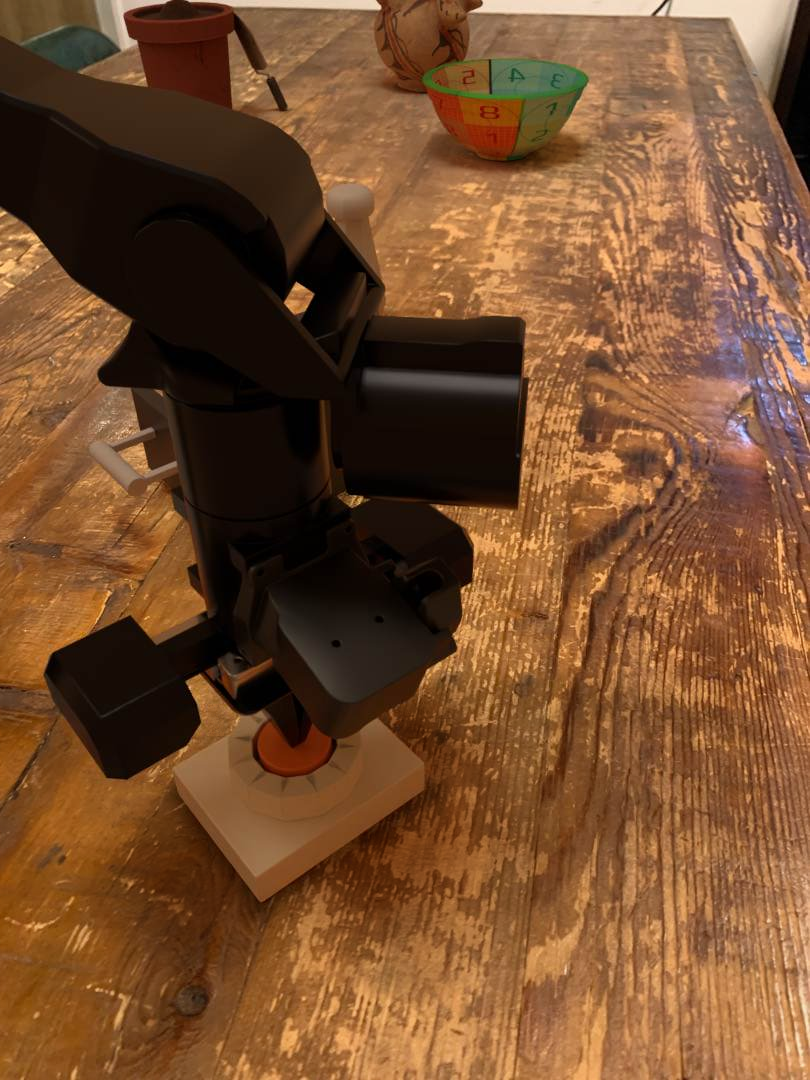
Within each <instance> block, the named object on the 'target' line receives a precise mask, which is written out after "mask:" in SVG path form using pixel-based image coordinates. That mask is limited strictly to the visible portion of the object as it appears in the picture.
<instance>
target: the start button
mask: <svg viewBox="0 0 810 1080" xmlns="http://www.w3.org/2000/svg"><path fill="white" fill-rule="evenodd" d="M258 752H259V758H260V764H261V767H262V768H263V770H264V771H265V772H269V773H272V774H275V775H278V776H281V777H284V778H289V777H296V776H303V775H309V774H311V773H312V772H314V771H316V770H317V769H319V768H320V767H322V766H323V765H325V764H327V763H328V762H329V761H330V759H331V757H332V755H333V751H332V741H331V738H330V737H328V736H325V735H324V734H322V733H321V732H320V731H319V730H318V729H317V728H316V727H315V725H314V724H312V726H311V729H310V731H309V734H308V736H307V739H306V741H304V742H302V743H301V744H299V745H297V746H296V747H294V748H291V747H290V746H289V745H288V744H287V743H286V742H285V741H284V740H283V739H282V737H281V736H280V735H279V734H278V732H277V731H276V730H275V728H274V727H273V726H272V724H271V723H270V722H269V723H268V724H267V725H266V726H265V727H264V729H263V730H262V732H261V734H260V736H259V738H258Z"/></svg>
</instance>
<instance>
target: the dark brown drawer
mask: <svg viewBox="0 0 810 1080" xmlns="http://www.w3.org/2000/svg"><path fill="white" fill-rule="evenodd" d="M130 393H131V396H132V400H133V405H134V410H135V413H136V414H135V415H136V418H137V423H138V427H139V428H138V429H139V431H137V432H135V433H132V434H129V435H127V436H124V437H121V438H119V439H117V440H114V441H110V442H106V440H102V439H98V440H95V441H93V442H92V443H91V444H90V445H89V448H88V455H89V456H90V457H91V458H92V459H93V460H94V462H96V463H97V464H98V465H99V466H100V467H101V468H102V470H104V471H105V472H106V473H107V474H108V475H109V476H110V477H111V478H112V479H113V480H114V481H115V482H116V483H117V484H118V485H119V486H120V487H121V488H122V489H123V490H124V491H125V492H126V493H127V494H128V495H130V496H131V497H134V498H138V497H141V496H143V495H144V494H145V493H146V491H147V490H148V486H150V485H152V484H154V483H156V482H159V481H162V482H163V483H165V484H166V485H167V486H168V487H169V488H170V489H173V488H175V487H177V486H180V485H181V482H180V477H179V472H178V467H177V462H176V457H175V452H174V447H173V443H172V438H171V433H170V428H169V423H168V418H167V413H166V408H165V403H164V398H163V395H162V394H160V393H159V391H157V390H155V389H140V388H130ZM140 444H143V445H142V446H143V450H144V454H145V458H146V463H147V467H148V468H149V470H150V471H148V472H145V473H142V474H140V473H139V472H138V471H137V470H136V469H135V468H134V467H133V466H132V465H131V464H130V463H129V462H127V460H125V459H124V458H123V457H122V455H120V454H119V452H122V451H124V450H127V449H129V448H132V447H134V446H137V445H140Z"/></svg>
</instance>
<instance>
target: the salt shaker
mask: <svg viewBox="0 0 810 1080" xmlns="http://www.w3.org/2000/svg"><path fill="white" fill-rule="evenodd" d="M375 201H376V200H375V196H374V192H373V191H372V189H370V187H368V186H366V185H364V184H362V183H361V184H360V183H342V184H338V185H335V186H333V187H332V188H330V190H329V191H328V192H327V193H326V197H325V205H326V211H327V212H328V213H329V214H330V216H331V217H332V218H333V219H334V221H335V222H336V223H337V225H338V226H339V227H340V228H341V230H342V231H343V232H344V234H345V235H346V236H347V237H348V239H349V240H350V241H351V242H352V244H353V245H354V246H355V248H356V249H357V250H358V251H359V253H360V254H361V255H362V256H363V258H364V259H365V260H366V262H367V263H368V264H369V265H370V267H371V268H372V269H373V270H374V272H375V273H376V274H377V276H378V277H379V278H380V279H381V281H382V282H383V278H382V274H381V269H380V265H379V260H378V255H377V251H376V245H375V241H374V236H373V231H372V227H371V221H370V217H371V215H373V213H374V212H375V209H376V208H375V205H376V204H375V203H376V202H375ZM386 302H387V298H386V294H385V295H384V297H383V300H382V302H381V305H380V307H379V315H380V316H383V312H384V310H385V306H386V304H387V303H386Z"/></svg>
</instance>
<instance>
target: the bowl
mask: <svg viewBox="0 0 810 1080" xmlns="http://www.w3.org/2000/svg"><path fill="white" fill-rule="evenodd" d="M589 80H590V78H589V76H588V75H587V73H585V71H583V70H580V69H578V68H576V67H574V66H570V65H567V64H564V63H559V62H554V61H547V60H542V59H541V60H540V59H530V58H513V57H512V58H505V57H504V58H502V57H501V58H500V57H499V58H482V59H471V60H464V61H462V62H456V63H451V64H447V65H443V66H440V67H437V68H434V69H432V70H430V71H428V72H427V73H426V74H425V75H424V76H423V78H422V81H423V84H424V86H425V87H426V89H427V91H428V92H427V94H428V95H427V96H428V98H429V100H431V102H432V106H433V108H434V110H435V113H436V117H437V118H438V120H439V122H440V123H441V125H442V126H443V128H444V129H445V130H446V131H447V133H448V134H449V135H450V136H451V137H452V139H454V140H455V141H456V142H457V143H459V145H461V146H462V147H464V148H466V149H467V150H469V151H470V152H472V153H475V154H476V156H477V157H479V158H482V159H485V160H490V161H501V162H502V161H516V160H519V159H522V158H525V157H526V156H528V154H531V153H532V152H534V151H536V150H538V149H540V148H542V147H543V146H545V145H546V144H547V143H549V142H550V141H552V139H553V138H554V137H556V135H557V134H558V133H560V131H561V130H562V129H563V128H564V126H565V125H566V124H567V122H568V120H569V119H570V118H571V116H572V113H573V111H574V110H575V107H576V106H577V103H578V101H579V100H581V97H582V95H583V92H584V89H585V88H586V87H587V85H588V83H589Z"/></svg>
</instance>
